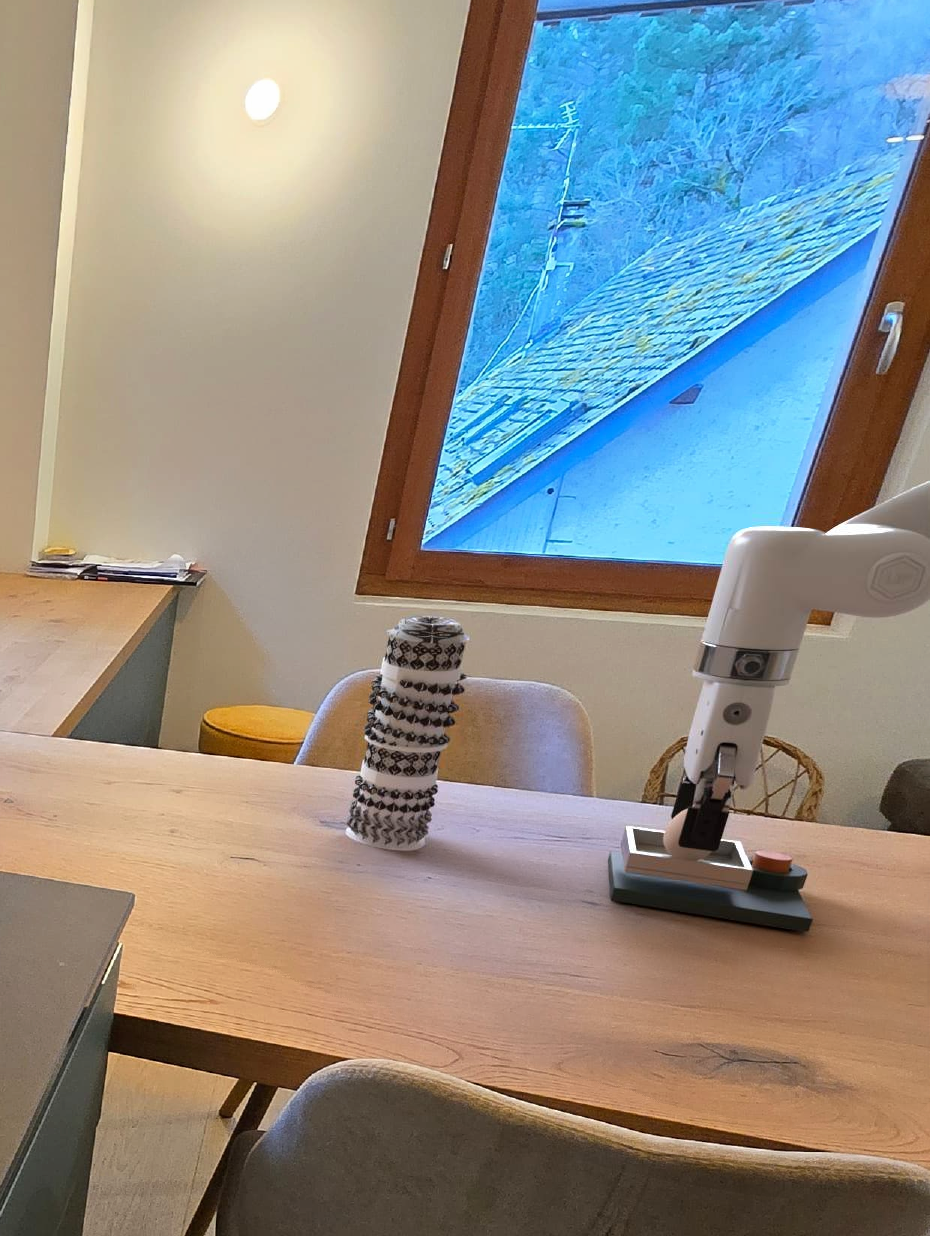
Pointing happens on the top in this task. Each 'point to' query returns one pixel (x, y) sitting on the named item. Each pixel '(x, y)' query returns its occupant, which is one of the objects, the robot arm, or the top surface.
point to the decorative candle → (407, 733)
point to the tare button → (772, 861)
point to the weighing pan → (685, 861)
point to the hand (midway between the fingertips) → (692, 834)
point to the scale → (719, 895)
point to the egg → (672, 840)
